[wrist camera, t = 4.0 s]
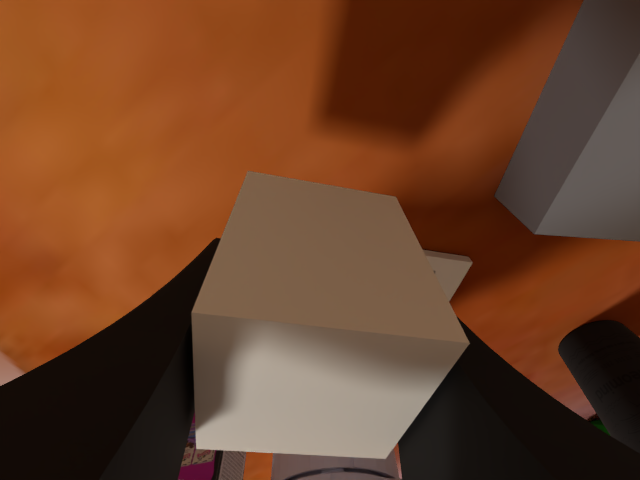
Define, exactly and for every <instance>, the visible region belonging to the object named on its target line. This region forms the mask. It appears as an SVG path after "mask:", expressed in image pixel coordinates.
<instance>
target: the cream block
mask: <svg viewBox="0 0 640 480" xmlns="http://www.w3.org/2000/svg"><path fill="white" fill-rule="evenodd" d="M191 314H192V343H193V372H194V401H195V430H196V449H207V450H226V451H245V452H264V453H283V454H302V455H321V456H340V457H359V458H378V459H386V458H387V456H388V455H389V453H390V452H391V451H392V449H393V448H394V447H395V445H396V444H397V443H398V441H399V440H400V438H401V437H402V436H403V434H404V433H405V432H406V430H407V429H408V427H409V426H410V425H411V423H412V422H413V421H414V419H415V418H416V416H417V415H418V414H419V412H420V411H421V410H422V408H423V407H424V405H425V404H426V403H427V401H428V400H429V399H430V397H431V396H432V394H433V393H434V392H435V390H436V389H437V388H438V386H439V385H440V383H441V382H442V381H443V379H444V378H445V377H446V375H447V374H448V372H449V371H450V370H451V368H452V367H453V366H454V364H455V363H456V361H457V360H458V359H459V357H460V356H461V355H462V353H463V352H464V350H465V349H466V348H467V346H468V345H469V344H470V343H469V341H468V339H467V337H466V335H465V333H464V331H463V329H462V327H461V325H460V323H459V321H458V319H457V317H456V315H455V313H454V311H453V309H452V307H451V305H450V303H449V301H448V299H447V297H446V295H445V293H444V291H443V289H442V287H441V285H440V283H439V281H438V279H437V277H436V275H435V273H434V271H433V269H432V267H431V265H430V263H429V261H428V259H427V258H426V256H425V254H424V252H423V250H422V248H421V246H420V244H419V242H418V240H417V238H416V236H415V234H414V232H413V230H412V228H411V226H410V224H409V222H408V220H407V218H406V216H405V214H404V212H403V210H402V208H401V206H400V204H399V202H398V200H397V198H396V197H394V196H389V195H383V194H377V193H372V192H366V191H360V190H354V189H349V188H343V187H337V186H332V185H326V184H320V183H314V182H309V181H303V180H297V179H292V178H286V177H280V176H274V175H269V174H263V173H257V172H252V171H248V172H247V175H246V177H245V180H244V182H243V185H242V187H241V190H240V192H239V195H238V197H237V200H236V202H235V205H234V207H233V210H232V212H231V215H230V217H229V220H228V222H227V225H226V227H225V230H224V232H223V235H222V237H221V240H220V242H219V245H218V247H217V250H216V252H215V255H214V257H213V260H212V262H211V265H210V267H209V270H208V272H207V275H206V277H205V280H204V282H203V285H202V287H201V290H200V292H199V295H198V297H197V300H196V302H195V305H194V307H193V310H192V312H191Z"/></svg>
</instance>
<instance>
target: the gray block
mask: <svg viewBox="0 0 640 480" xmlns="http://www.w3.org/2000/svg"><path fill="white" fill-rule="evenodd" d="M494 197H495V198H496V199H497V200H499V201H500V202H501V203H502V204H503V205H504V206H505V207H506V208H507V209H508V210H509V211H510V212H511V213H512V214H513V215H514V216H515V217H517V218H518V219H519V220H520V221H521V222H522V223H523V224H524V225H525V226H526V227H527V228H528V229H529V230H530V231H531V232H532V233H533V234H539V235H554V236H568V237H583V238H598V239H612V240H627V241H640V0H584V1H583V3H582V5H581V7H580V10H579V12H578V14H577V16H576V18H575V21H574V23H573V25H572V27H571V29H570V32H569V34H568V36H567V38H566V40H565V42H564V45H563V47H562V49H561V51H560V53H559V56H558V58H557V60H556V62H555V64H554V66H553V69H552V71H551V73H550V75H549V77H548V80H547V82H546V84H545V86H544V88H543V91H542V93H541V95H540V97H539V99H538V101H537V104H536V106H535V108H534V110H533V112H532V115H531V117H530V119H529V121H528V123H527V125H526V128H525V130H524V132H523V134H522V136H521V139H520V141H519V143H518V145H517V147H516V149H515V152H514V154H513V156H512V158H511V160H510V163H509V165H508V167H507V169H506V171H505V174H504V176H503V178H502V180H501V182H500V184H499V187H498V189H497V191H496V193H495V195H494Z"/></svg>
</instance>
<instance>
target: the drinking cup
mask: <svg viewBox="0 0 640 480" xmlns="http://www.w3.org/2000/svg"><path fill="white" fill-rule="evenodd" d="M558 350H559V354H560V356H561V357H562V359H563V360H564V362H565V364H566V365H567V367H568V368H569V370H570V372H571V373H572V375H573V376H574V378H575V380H576V381H577V383H578V384H579V386H580V388H581V389H582V391H583V392H584V394H585V396H586V397H587V399H588V400H589V402H590V404H591V405H592V407H593V408H594V410H595V412H596V413H597V415H598V416H599V418H600V420H601V421H602V423H603V424H604V426H605V428H606V429H607V431H608V432H609V434H610V436H611V437H613V438H615V439H616V440H618V441H620V442H621V443H623V444H625V445H626V446H628V447H630V448H631V449H633V450H635V451H636V452H638V453H640V338H639V337H638V336H637V335H635V334H634V333H633V332H632V331H630V330H629V329H628V328H627V327H625V326H624V325H623V324H621V323H619V322H617V321H611V320H606V321H598V322H593V323H590V324H587V325H584V326H582V327H580V328H578V329H576V330H574V331H573V332H571V333H570V334H568V335H567V336H566V337H565V338H564V339H563V340H562V341H561V343H560V345H559V349H558Z"/></svg>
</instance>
